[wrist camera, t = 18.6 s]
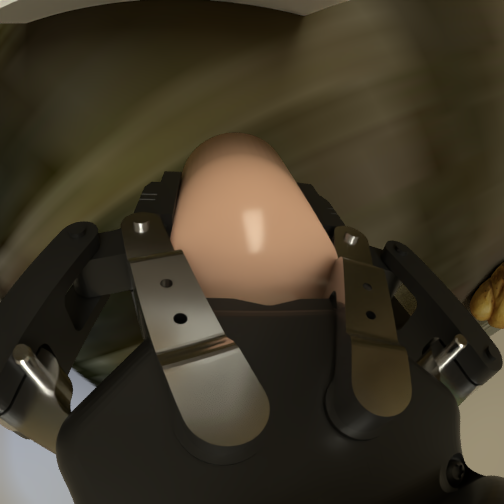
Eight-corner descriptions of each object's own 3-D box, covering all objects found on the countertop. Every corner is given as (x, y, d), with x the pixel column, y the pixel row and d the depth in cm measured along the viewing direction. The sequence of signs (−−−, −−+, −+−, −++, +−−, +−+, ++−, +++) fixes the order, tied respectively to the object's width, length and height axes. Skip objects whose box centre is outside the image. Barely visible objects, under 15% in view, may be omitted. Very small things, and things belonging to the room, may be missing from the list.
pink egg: (185, 128, 11) (161, 203, 6) (295, 140, 12) (363, 220, 7) (179, 223, 14) (168, 337, 9) (273, 228, 15) (309, 336, 10)
